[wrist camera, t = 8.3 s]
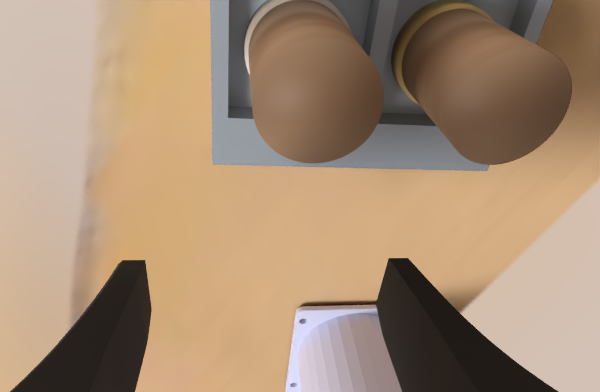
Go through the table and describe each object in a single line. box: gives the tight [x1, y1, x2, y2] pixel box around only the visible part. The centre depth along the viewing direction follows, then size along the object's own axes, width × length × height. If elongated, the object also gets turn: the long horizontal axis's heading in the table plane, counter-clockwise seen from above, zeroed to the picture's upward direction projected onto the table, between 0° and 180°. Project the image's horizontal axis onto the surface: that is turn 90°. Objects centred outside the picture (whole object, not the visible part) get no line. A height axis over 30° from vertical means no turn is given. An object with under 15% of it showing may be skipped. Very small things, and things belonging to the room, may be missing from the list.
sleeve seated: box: [244, 0, 384, 164], centre depth 16 cm, size 4×4×6 cm
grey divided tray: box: [210, 0, 553, 171], centre depth 19 cm, size 10×13×2 cm
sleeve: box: [391, 0, 572, 165], centre depth 17 cm, size 4×4×6 cm
